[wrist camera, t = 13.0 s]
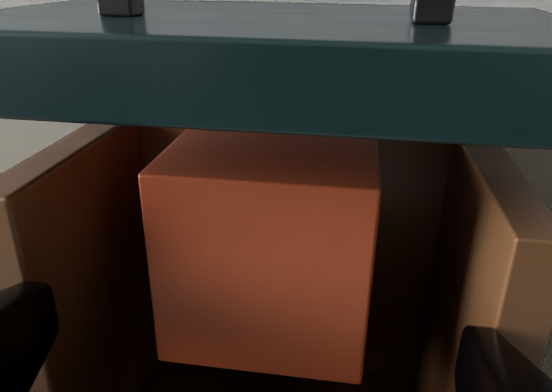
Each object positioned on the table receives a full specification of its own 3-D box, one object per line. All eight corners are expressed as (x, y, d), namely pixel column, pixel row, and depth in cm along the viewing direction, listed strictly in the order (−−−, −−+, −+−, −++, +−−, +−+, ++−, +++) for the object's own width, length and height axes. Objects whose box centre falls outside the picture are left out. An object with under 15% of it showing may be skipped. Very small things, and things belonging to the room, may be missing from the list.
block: (210, 257, 14) (157, 361, 10) (203, 111, 12) (136, 174, 8) (361, 270, 13) (361, 386, 10) (375, 120, 12) (381, 190, 8)
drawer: (59, -199, 11) (-270, -375, 5) (582, -216, 10) (907, -482, 4) (131, 339, 17) (14, 529, 11) (459, 377, 15) (515, 616, 10)
